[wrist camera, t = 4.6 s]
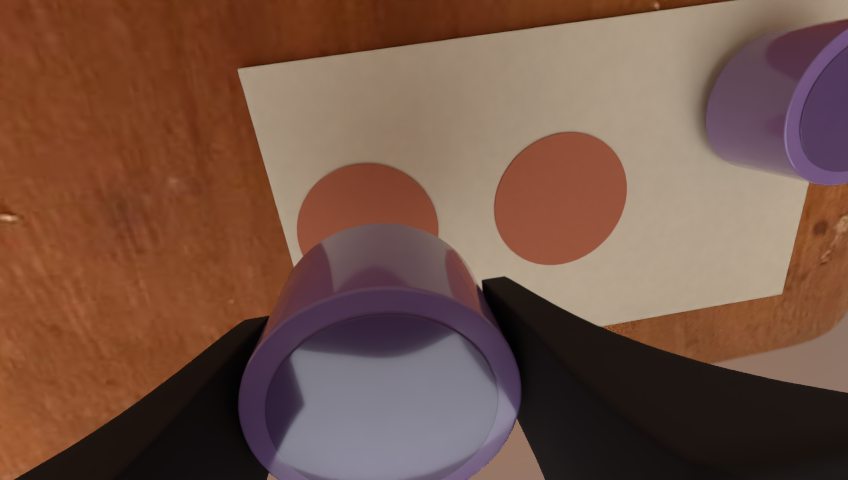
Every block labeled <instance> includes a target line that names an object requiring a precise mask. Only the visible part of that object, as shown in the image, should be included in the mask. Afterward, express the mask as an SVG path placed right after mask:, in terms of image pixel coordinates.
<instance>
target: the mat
mask: <svg viewBox="0 0 848 480" xmlns="http://www.w3.org/2000/svg"><path fill="white" fill-rule="evenodd" d="M843 18H848V0H733V1H726V2H719V3H711V4H704V5H697V6H689V7H682V8H675V9H668V10H660V11H653V12H646V13H639V14H631V15H624V16H617V17H609V18H602V19H595V20H588V21H580V22H573V23H566V24H559V25H551V26H544V27H537V28H529V29H522V30H515V31H508V32H500V33H493V34H486V35H479V36H471V37H464V38H457V39H449V40H442V41H435V42H428V43H420V44H413V45H406V46H399V47H391V48H384V49H377V50H369V51H362V52H355V53H348V54H340V55H333V56H326V57H319V58H311V59H304V60H297V61H289V62H282V63H275V64H268V65H260V66H253V67H246V68H239V69H238V73H239V77H240V80H241V84H242V87H243V91H244V94H245V98H246V101H247V105H248V108H249V112H250V115H251V119H252V122H253V126H254V129H255V133H256V136H257V140H258V143H259V147H260V150H261V154H262V157H263V161H264V164H265V168H266V171H267V175H268V178H269V182H270V185H271V189H272V192H273V196H274V199H275V203H276V206H277V210H278V213H279V217H280V220H281V224H282V227H283V231H284V234H285V238H286V241H287V245H288V248H289V252H290V255H291V259H292V262H293V266H294V267H295V265H296V264H297V263H298V262H299V261H300V259H301V258H302V257H303V256H304V255H305V254H306V253H307V252H308V251H309V250H310V249H312V248H313V247H314V246H315V245H317V244H318V243H320V242H321V241H323V240H324V239H326V238H328V237H330V236H332V235H334V234H336V233H338V232H341V231H343V230H346V229H349V228H352V227H357V226H361V225H367V224H377V223H388V224H399V225H406V226H410V227H414V228H417V229H421V230H423V231H426V232H428V233H430V234H433V235H435V236H436V237H438V238H440V239H441V240H443V241H445V242H446V243H447V244H449V245H450V246H451V247H452V248H454V249H455V250H456V251H457V252H458V253H459V254H460V255H461V256H462V258H463V259H464V260H465V261H466V263H467V264H468V266H469V267H470V268H471V270H472V272H473V274H474V276H475V278H476V280H477V282H478V284H479V286H480V288H481V290H482V280H484V279H490V278H496V277H502V276H505V277H507V278H509V279H511V280H513V281H515V282H516V283H518V284H520V285H522V286H523V287H525V288H527V289H528V290H530V291H532V292H534V293H535V294H537V295H539V296H541V297H542V298H544V299H546V300H548V301H549V302H551V303H553V304H555V305H557V306H559V307H560V308H562V309H564V310H566V311H568V312H570V313H572V314H574V315H576V316H578V317H580V318H582V319H585V320H587V321H589V322H591V323H593V324H595V325H597V326H606V325H611V324H617V323H623V322H628V321H634V320H639V319H645V318H651V317H656V316H662V315H667V314H673V313H679V312H684V311H690V310H695V309H701V308H707V307H712V306H718V305H723V304H729V303H734V302H740V301H746V300H751V299H757V298H762V297H768V296H774V295H779V294H782V292H783V288H784V283H785V279H786V275H787V271H788V267H789V263H790V259H791V255H792V251H793V246H794V242H795V238H796V234H797V230H798V226H799V222H800V218H801V214H802V209H803V205H804V201H805V197H806V193H807V189H808V185H809V182H805V181H800V180H796V179H791V178H787V177H782V176H778V175H773V174H769V173H764V172H759V171H755V170H750V169H746V168H741V167H737V166H734V165H731V164H729V163H727V162H725V161H724V160H723V159H721V158H720V157H719V156H718V155H717V154H716V152H715V151H714V150H713V148H712V146H711V144H710V142H709V139H708V136H707V131H706V110H707V105H708V101H709V97H710V94H711V91H712V89H713V86H714V84H715V82H716V80H717V78H718V77H719V75H720V73H721V72H722V70H723V69H724V67H725V66H726V64H727V63H728V62H729V61H730V60H731V58H732V57H733V56H734V55H735V54H736V53H737V52H738V51H739V50H740V49H741V48H743V47H744V46H745V45H746V44H747V43H749V42H750V41H752V40H753V39H755V38H756V37H758V36H760V35H762V34H764V33H766V32H769V31H771V30H774V29H778V28H783V27H789V26H796V25H803V24H809V23H816V22H823V21H829V20H836V19H843Z"/></svg>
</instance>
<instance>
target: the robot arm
mask: <svg viewBox="0 0 848 480" xmlns="http://www.w3.org/2000/svg"><path fill="white" fill-rule="evenodd" d="M482 292H483V294H484V296H485V298H486V300H487V302H488V304H489V306H490V308H491V310H492V312H493V314H494V316H495V318H496V320H497V322H498V324H499V326H500V328H501V329H502V331H503V333H504V335H505V337H506V339H507V341H508V343H509V345H510V347H511V349H512V351H513V353H514V355H515V357H516V361H517V364H518V367H519V371H520V378H521V402H520V407H519V412H518V416H517V419H518V421H519V424H520V426H521V427H522V430H523V432H524V434H525V436H526V438H527V440H528V442H529V444H530V446H531V449H532V451H533V453H534V455H535V457H536V459H537V462H538V464H539V466H540V469H541V471H542V473H543V475H544V478H545V480H848V393H845V392H839V391H834V390H828V389H822V388H817V387H811V386H805V385H800V384H794V383H789V382H783V381H779V380H774V379H769V378H765V377H761V376H756V375H752V374H748V373H743V372H739V371H735V370H730V369H726V368H722V367H719V366H715V365H711V364H707V363H703V362H700V361H696V360H693V359H690V358H686V357H683V356H680V355H676V354H673V353H670V352H667V351H663V350H660V349H657V348H654V347H651V346H648V345H645V344H643V343H640V342H637V341H635V340H632V339H629V338H627V337H624V336H622V335H619V334H616V333H614V332H611V331H609V330H607V329H604V328H602V327H600V326H597V325H595V324H593V323H591V322H589V321H587V320H585V319H582V318H580V317H578V316H576V315H574V314H572V313H570V312H568V311H566V310H564V309H562V308H560V307H559V306H557V305H555V304H553V303H551V302H549V301H548V300H546V299H544V298H542V297H541V296H539V295H537V294H535V293H534V292H532V291H530V290H528V289H527V288H525V287H523V286H522V285H520V284H518V283H516V282H515V281H513V280H511V279H509V278H507V277H505V276H502V277H496V278H490V279H484V280H482ZM268 319H269V316H265V317H259V318H254V319H248V320H245V321H243V322H241V323H240V324H238V325H237V326H235V327H234V328H233V329H231V330H230V331H229V332H227V333H226V334H225V335H224V336H222V337H221V338H220V339H218V340H217V341H216V342H215V343H213V344H212V345H211V346H210V347H208V348H207V349H206V350H205V351H203V352H202V353H201V354H200V355H198V356H197V357H196V358H195V359H193V360H192V361H191V362H190V363H188V364H187V365H186V366H185V367H183V368H182V369H181V370H180V371H178V372H177V373H176V374H174V375H173V376H172V377H170V378H169V379H168V380H166V381H165V382H164V383H162V384H161V385H160V386H158V387H157V388H156V389H154V390H153V391H152V392H150V393H149V394H148V395H146V396H145V397H144V398H142V399H141V400H140V401H138V402H137V403H136V404H134V405H133V406H131V407H130V408H128V409H127V410H126V411H124V412H123V413H121V414H120V415H118V416H117V417H115V418H114V419H112V420H111V421H110V422H108V423H107V424H105V425H103V426H102V427H100V428H99V429H97V430H96V431H94V432H93V433H91V434H90V435H88V436H86V437H85V438H83V439H82V440H80V441H79V442H77V443H76V444H74V445H72V446H71V447H69V448H67V449H66V450H64V451H62V452H61V453H59V454H57V455H56V456H54V457H52V458H50V459H49V460H47V461H45V462H44V463H42V464H40V465H38V466H37V467H35V468H33V469H32V470H30V471H28V472H26V473H25V474H23V475H21V476H20V477H18V478H16V479H14V480H267V477H268V474H269V472H268V471H267V470H266V469H265V468H264V467H263V466H262V465H261V464H260V462H259V461H258V460H257V458H256V457H255V456H254V454H253V453H252V451H251V450H250V448H249V446H248V444H247V442H246V440H245V438H244V435H243V432H242V428H241V425H240V420H239V412H238V392H239V387H240V383H241V378H242V375H243V373H244V370H245V368H246V365H247V363H248V360H249V358H250V356H251V354H252V352H253V350H254V348H255V346H256V344H257V342H258V339H259V337H260V335H261V333H262V331H263V329H264V327H265V325H266V323H267V321H268Z"/></svg>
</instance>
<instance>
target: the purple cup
mask: <svg viewBox="0 0 848 480" xmlns="http://www.w3.org/2000/svg"><path fill="white" fill-rule="evenodd" d="M706 131H707V136H708V139H709V142H710V144H711V146H712V148H713V150H714V151H715V152H716V154H717V155H718V156H719V157H720V158H721V159H723V160H724V161H725V162H727V163H729V164H731V165H734V166H737V167H741V168H746V169H750V170H755V171H759V172H764V173H769V174H773V175H778V176H782V177H787V178H791V179H796V180H800V181H805V182H810V183H814V184H819V185H830V186H831V185H841V184H845V183H848V18H843V19H836V20H829V21H823V22H816V23H809V24H803V25H796V26H789V27H783V28H778V29H774V30H771V31H769V32H766V33H764V34H762V35H760V36H758V37H756V38H755V39H753V40H752V41H750V42H749V43H747V44H746V45H745V46H744V47H743V48H741V49H740V50H739V51H738V52H737V53H736V54H735V55H734V56H733V57H732V58H731V60H730V61H729V62H728V63H727V64H726V66H725V67H724V69H723V70H722V72H721V73H720V75H719V77H718V78H717V80H716V82H715V84H714V86H713V89H712V91H711V94H710V97H709V101H708V105H707V110H706Z"/></svg>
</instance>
